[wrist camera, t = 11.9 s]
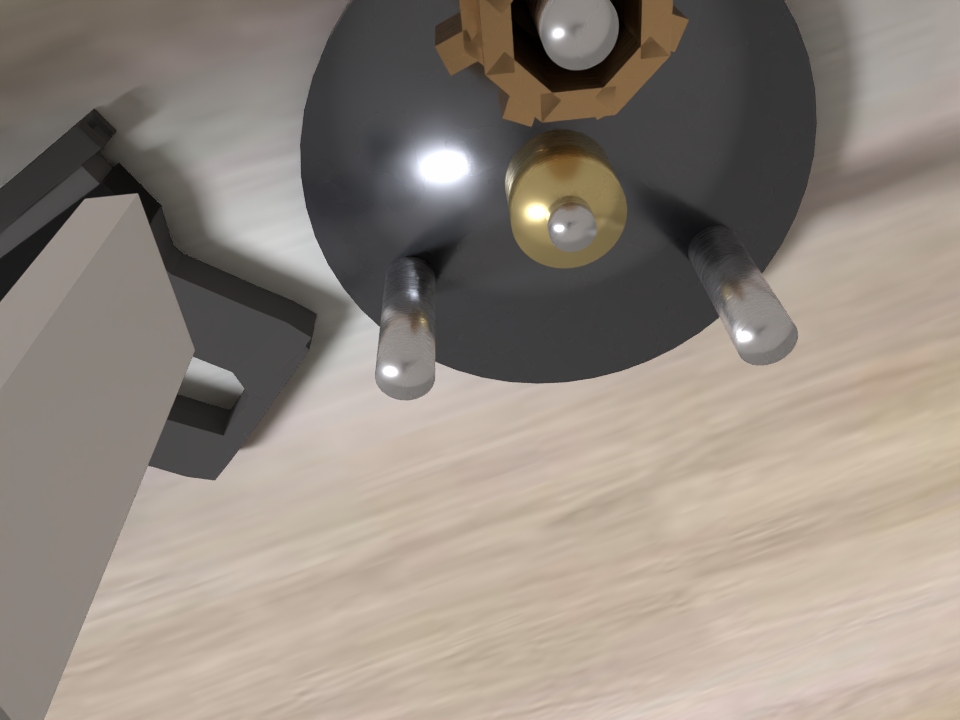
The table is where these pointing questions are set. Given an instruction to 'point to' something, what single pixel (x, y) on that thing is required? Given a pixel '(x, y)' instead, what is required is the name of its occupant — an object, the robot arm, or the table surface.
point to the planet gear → (541, 82)
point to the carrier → (557, 193)
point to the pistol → (197, 287)
